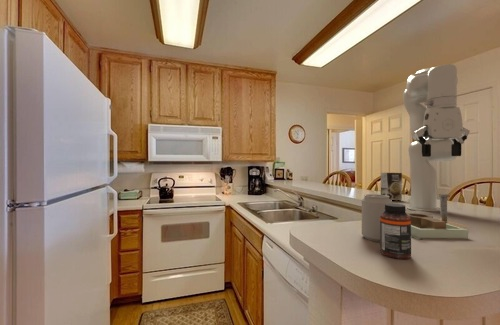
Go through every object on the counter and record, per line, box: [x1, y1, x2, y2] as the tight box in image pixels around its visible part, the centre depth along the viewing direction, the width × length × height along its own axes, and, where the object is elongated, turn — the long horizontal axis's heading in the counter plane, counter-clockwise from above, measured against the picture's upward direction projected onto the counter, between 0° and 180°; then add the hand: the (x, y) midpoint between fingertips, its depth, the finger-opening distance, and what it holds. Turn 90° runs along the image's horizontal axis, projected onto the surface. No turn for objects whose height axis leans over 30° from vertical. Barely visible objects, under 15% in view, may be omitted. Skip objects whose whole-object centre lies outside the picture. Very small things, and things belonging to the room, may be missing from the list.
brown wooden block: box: [406, 212, 446, 229], centre depth 72 cm, size 12×7×4 cm, turn 179°
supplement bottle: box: [379, 202, 412, 260], centre depth 54 cm, size 6×6×11 cm
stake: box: [438, 193, 473, 229], centre depth 81 cm, size 11×9×10 cm
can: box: [361, 193, 393, 243], centre depth 66 cm, size 8×8×12 cm
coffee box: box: [380, 172, 403, 201], centre depth 138 cm, size 9×6×16 cm
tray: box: [411, 223, 469, 241], centre depth 73 cm, size 17×13×3 cm
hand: (441, 156), depth 79 cm, fingers open, 9 cm apart
